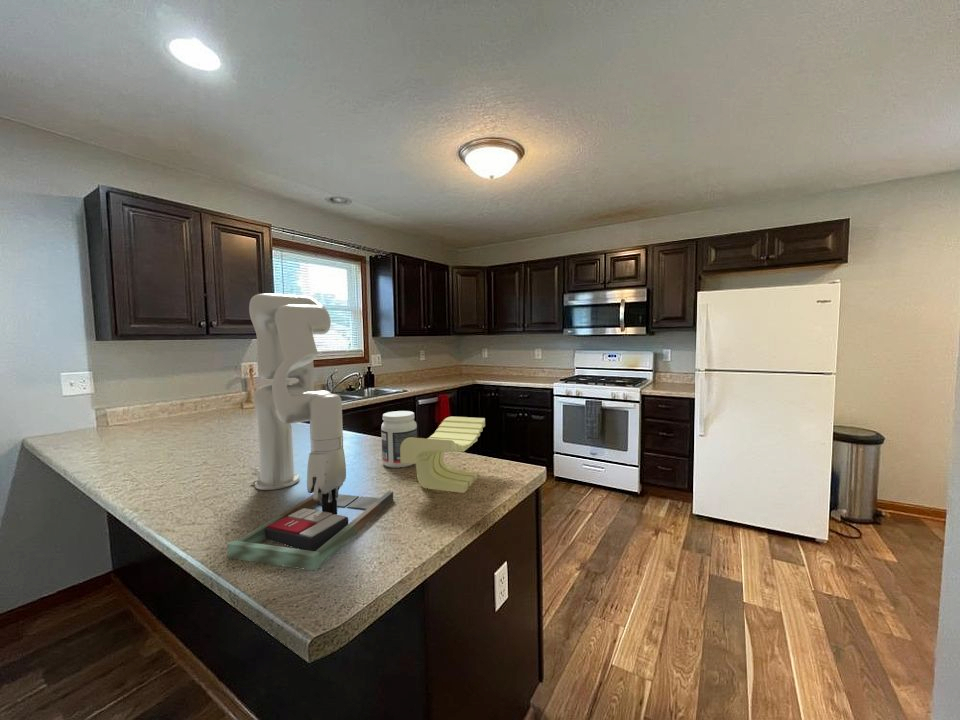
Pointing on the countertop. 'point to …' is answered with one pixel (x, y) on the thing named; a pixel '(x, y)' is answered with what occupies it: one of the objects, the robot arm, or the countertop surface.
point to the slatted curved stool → (430, 452)
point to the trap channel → (307, 559)
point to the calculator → (306, 529)
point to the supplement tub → (396, 436)
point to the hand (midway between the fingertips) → (329, 515)
